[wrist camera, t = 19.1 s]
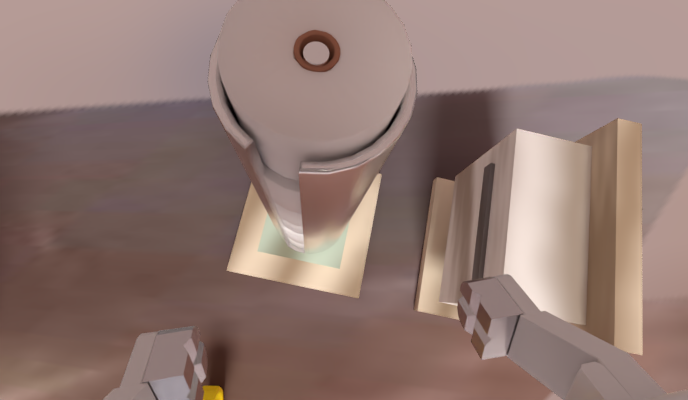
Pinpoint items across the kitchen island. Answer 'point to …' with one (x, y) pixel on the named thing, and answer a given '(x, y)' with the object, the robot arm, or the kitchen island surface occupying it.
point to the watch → (213, 393)
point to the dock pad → (298, 268)
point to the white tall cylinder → (312, 106)
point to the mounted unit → (546, 229)
